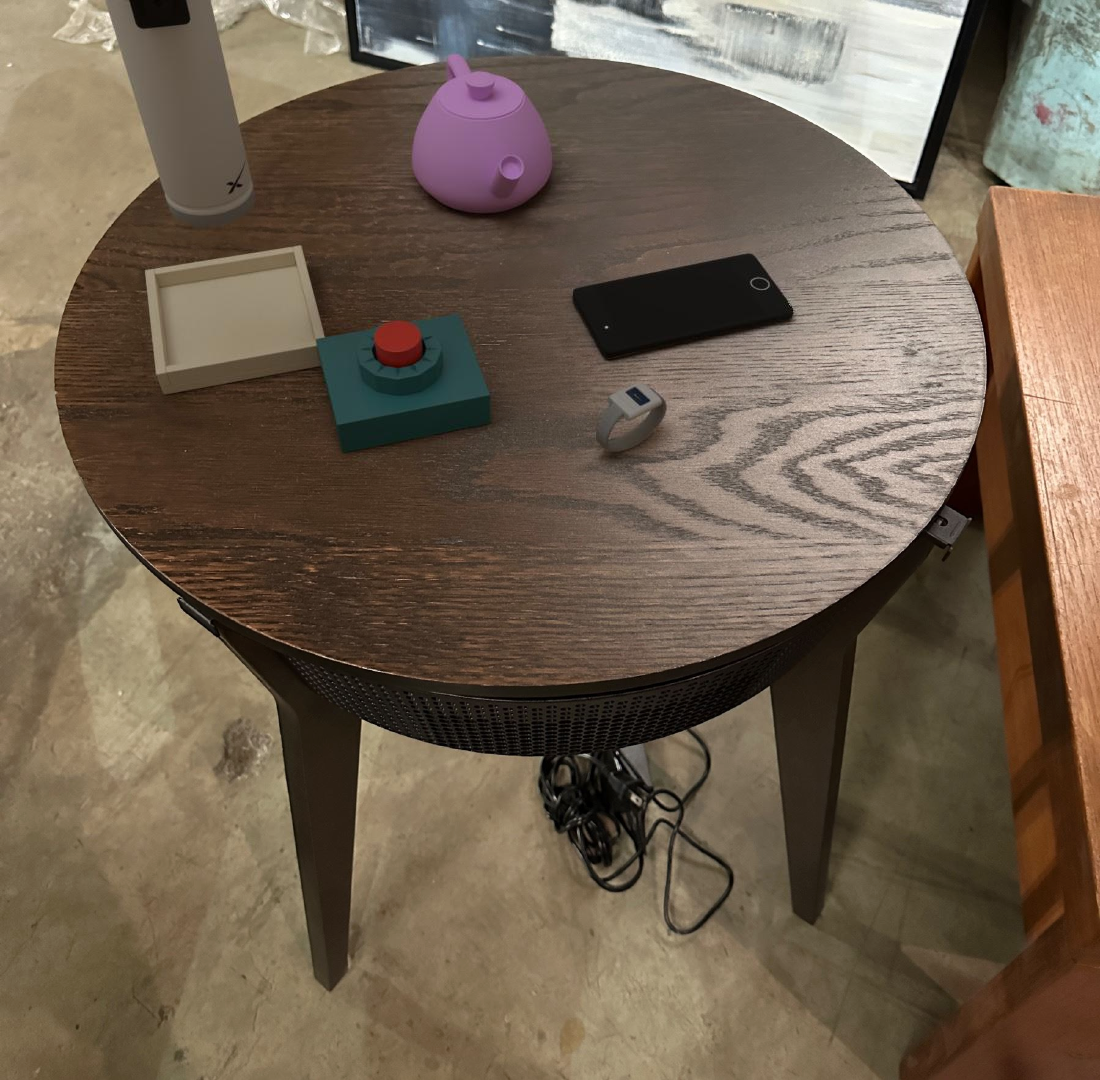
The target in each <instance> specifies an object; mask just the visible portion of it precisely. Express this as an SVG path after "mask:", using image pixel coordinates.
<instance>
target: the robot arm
mask: <svg viewBox="0 0 1100 1080" xmlns="http://www.w3.org/2000/svg"><path fill="white" fill-rule="evenodd" d="M129 2H130V5H131V9H132V12H133V16H134V19H135V23H136V25H137V26H138V27H139V28H141V29H149V28H158V27H167V26H176V25H185V24H188V23H189V22H190V13H189V9H188V5H187V1H186V0H129Z"/></svg>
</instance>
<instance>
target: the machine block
mask: <svg viewBox="0 0 1100 1080" xmlns="http://www.w3.org/2000/svg"><path fill="white" fill-rule="evenodd" d="M462 319H463V318H462V317H461V315H460V313H453V314H449V315H443V316H437V317H432V318H427V319H420V320H415V321H408V322H409V323H412V324H414V325H415V326H416V327H417V328H418V329H419V330H420V332H421V340H422V351H423V352H422V356H421V358H420V359H419V361H417V362H416V363H415V364H413V365H411V366H408V367H402V368H394V367H388V366H386V365H384V364H382V363H381V362H380V361H379V360H378V358H377V355H376V348H375V341H374V335H375V333H376V331H377V329H378V328H379V327H381V326H382V325H384V324H385V323H383V324H379V325H377V326H376V327H374V328H370V329H365V330H358V331H353V332H348V333H342V334H335V335H331V336H330V335H329V336H325V337H324V338H319V339H316V343H317V348H318V353H319V358H320V363H321V366H320V367H321V371H322V375H323V376H322V377H323V380H324V384H325V387H326V392H327V396H328V400H329V404H330V408H331V412H332V416H333V419H334V425H335V428H336V433H337V437H338V440H339V441H338V442H339V444H340V448H341V449H340V450H341V453H343V454H344V453H349V452H354V451H359V450H364V449H365V450H366V449H370V448H374V447H379V446H384V445H390V444H393V443H399V442H404V441H409V440H413V439H419V438H425V437H429V436H435V435H439V434H444V433H449V432H453V431H458V430H463V429H464V430H465V429H468V428H469V429H470V428H474V427H479V426H485V425H488V424H491V423H492V414H491V413H492V411H491V409H492V407H491V393H490V390H489V388H488V385H487V382H486V381H485V377H484V375H483V372H482V369H481V366H480V365H479V362H478V359H477V357H476V354H475V351H474V348H473V346H472V343H471V341H470V338H469V335H468V333H467V330H466V328H465V325H464V322H463V320H462Z"/></svg>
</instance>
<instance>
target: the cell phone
mask: <svg viewBox="0 0 1100 1080" xmlns="http://www.w3.org/2000/svg"><path fill="white" fill-rule="evenodd" d="M771 278H772V277H771V276H770V274H769V273H768V271H767V270H766V268H765V267H764V266H763V264H761V262H760V261H759V259H758V258H757V257H756V256H755V254H753V253H750V252H749V253H748V252H747V253H742V254H737V255H732V256H728V257H727V256H726V257H721V258H717V259H712V260H707V261H702V262H698V263H693V264H687V265H683V266H677V267H673V268H667V269H663V270H657V271H652V272H647V273H643V274H638V275H633V276H627V277H623V278H618V279H613V280H608V281H603V282H598V283H592V284H589V285H584V286H580V287H575V288H574V289H573V290H572V301H573V303H574V306H575V307H576V309H577V311H578V313H579V314H580V317H581V318H582V320H583V322H584V324H585V325H586V327H587V329H588V332H589V333H590V335H591V337H592V338H593V341H594V343H595V344H596V346H597V348H598V349H599V351H600V354H601V355H602V356H603V357H604V358H605V359H607V360H611V359H615V358H619V357H624V356H628V355H632V354H636V353H641V352H646V351H650V350H654V349H655V350H656V349H660V348H664V347H669V346H673V345H674V346H675V345H678V344H682V343H683V344H684V343H687V342H691V341H697V340H700V339H705V338H709V337H710V338H711V337H714V336H719V335H723V334H727V333H732V332H737V331H742V330H746V329H751V328H755V327H759V326H763V325H769V324H772V323H778V322H783V321H789V320H792V319H793V316H794V314H795V309H794V307H793V306H792V304H791V302H789V300H788V299H787V297H786V296H785V294H784V293H783V292H782V291H781V289H780V288H779V287H778V285H777V284H776V283H775V281H774V280H773V278H772V279H771ZM788 302H789V303H788ZM789 304H790V305H791V306H790V305H789ZM792 307H793V308H792ZM793 309H794V310H793ZM793 311H794V312H793Z"/></svg>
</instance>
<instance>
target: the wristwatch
mask: <svg viewBox="0 0 1100 1080" xmlns="http://www.w3.org/2000/svg"><path fill="white" fill-rule="evenodd" d="M606 402H607V404H608V405H610V406H609V407H608V408H607V409H606V410H605V412H604V413H603V415H602V416H601V418H600V420H599V421H598V424H597V427H596V429H595V439H596V441H597V442H598V443H599V444H600V445H601V446H602V447H603V448H604V449H605V450H606V451H608V452H610V453H611V452H612V453H620V452H625V451H627V450H630V449H632V448H635V447H636V446H638V445H640V444H641V443H643V442H644V441H645V440H646V439H648V438H649V437H650V436H651V435H652V434H653V433H654V431H655V430H656V429H657V428H658V427H659V426H660V424H661V423H662V421H663V420H664V418H665V416H666V414H667V409H668V407H667V401H666V400H665V399H664V397H662V395H660V393H658V392H657V391H656V390H655V389H654V388H652V387H649V386H648V385H646V383H644V381H642V380H639V381H636V382H634V383H632V384H630V385H629V386H627V387H625V388H623V389H620V390H619V391H616V392H615V393H612V394H611V395H609V396H607V397H606ZM648 412H649V413H648ZM646 413H648V414H647V415H646V416H645V418H644V419H643V420H642V421H641V422H640V423H639V424H638V426H636V427H635V428H634V429H632V430H631V431H630V432H628V433H627V434H625V435H623V436H621V437H618V438H615V439H610V436H611V433H612V431H613V429H614V428H615V426H616V424H617V423H618V421H619V420H620V419H621V418H623V419H624V420H625V421H627V422H628V423H629V422H631V421H633V420H635V419H637V418H639V417H640V416H643V415H644V414H646Z"/></svg>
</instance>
